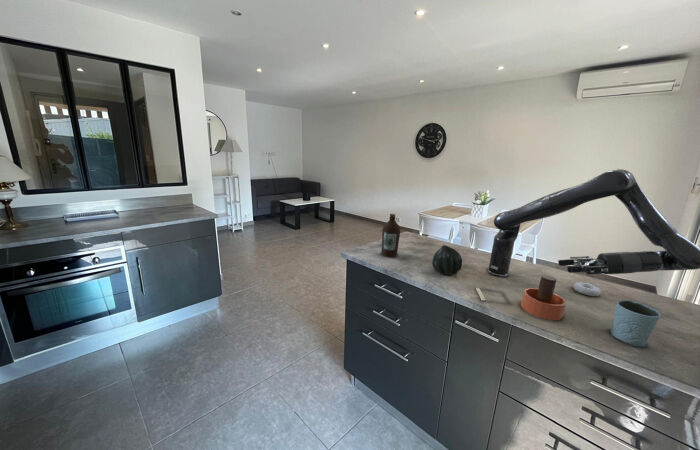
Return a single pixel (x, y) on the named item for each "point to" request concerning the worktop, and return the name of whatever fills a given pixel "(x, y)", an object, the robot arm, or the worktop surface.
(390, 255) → the olive oil
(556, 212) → the robot arm
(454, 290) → the worktop surface
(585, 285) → the donut
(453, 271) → the squash
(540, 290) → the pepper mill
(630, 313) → the blue embossed planter
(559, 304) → the pot
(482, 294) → the cloth
